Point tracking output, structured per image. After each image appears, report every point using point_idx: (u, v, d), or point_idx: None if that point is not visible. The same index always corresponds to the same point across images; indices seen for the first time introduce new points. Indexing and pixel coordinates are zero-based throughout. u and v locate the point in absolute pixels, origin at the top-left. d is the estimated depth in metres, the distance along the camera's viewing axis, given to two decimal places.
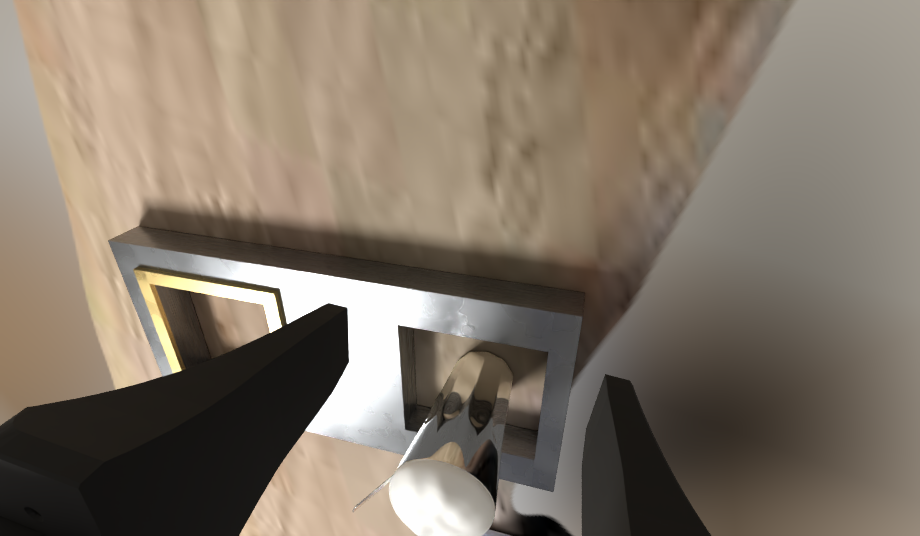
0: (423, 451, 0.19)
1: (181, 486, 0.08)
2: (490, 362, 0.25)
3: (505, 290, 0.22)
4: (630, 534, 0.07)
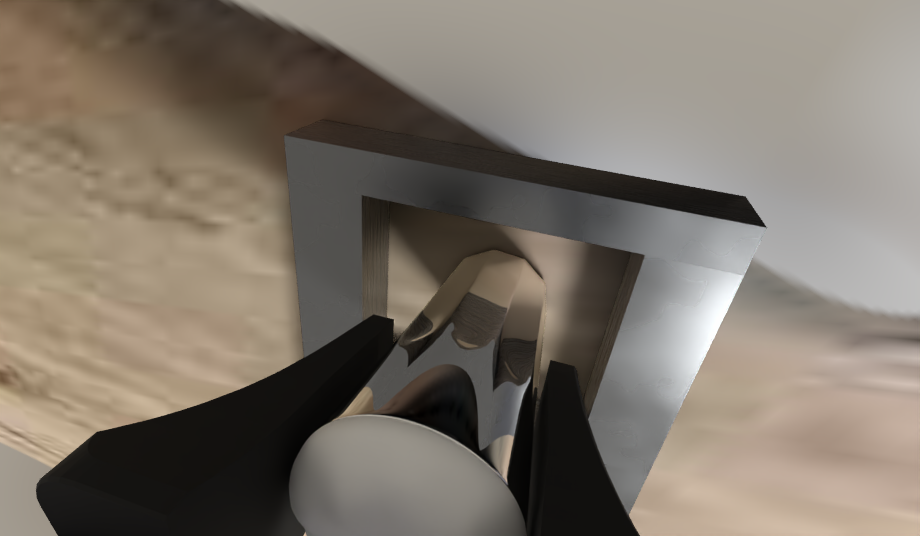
0: None
1: (250, 511, 0.08)
2: None
3: None
4: (542, 506, 0.08)
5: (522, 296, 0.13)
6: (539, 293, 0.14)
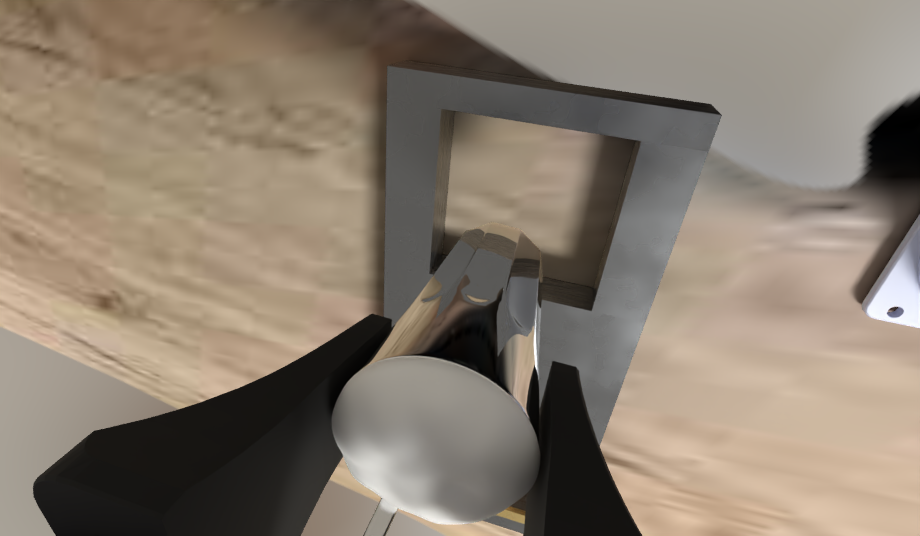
0: None
1: (247, 510, 0.08)
2: None
3: None
4: (545, 507, 0.08)
5: (521, 260, 0.14)
6: (535, 258, 0.15)
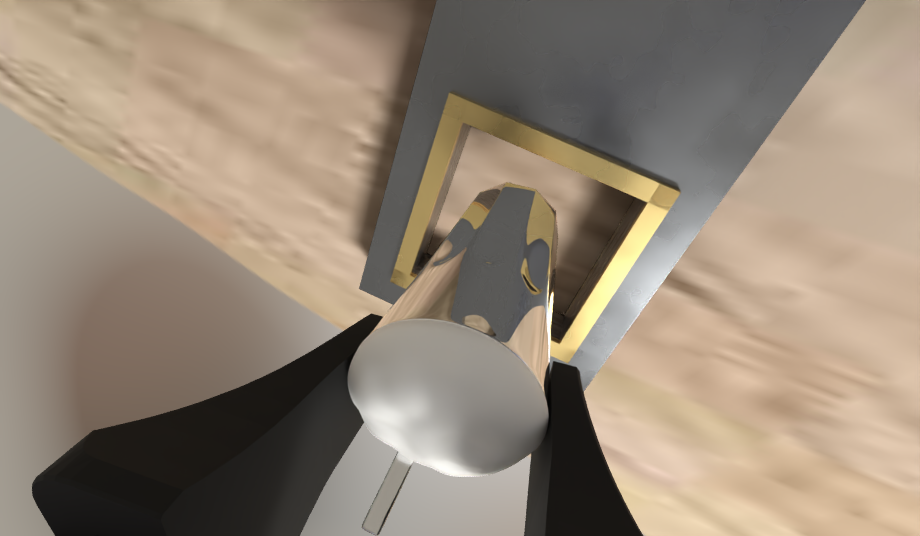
0: None
1: (246, 509, 0.08)
2: None
3: None
4: (547, 508, 0.08)
5: (535, 221, 0.14)
6: (550, 218, 0.15)
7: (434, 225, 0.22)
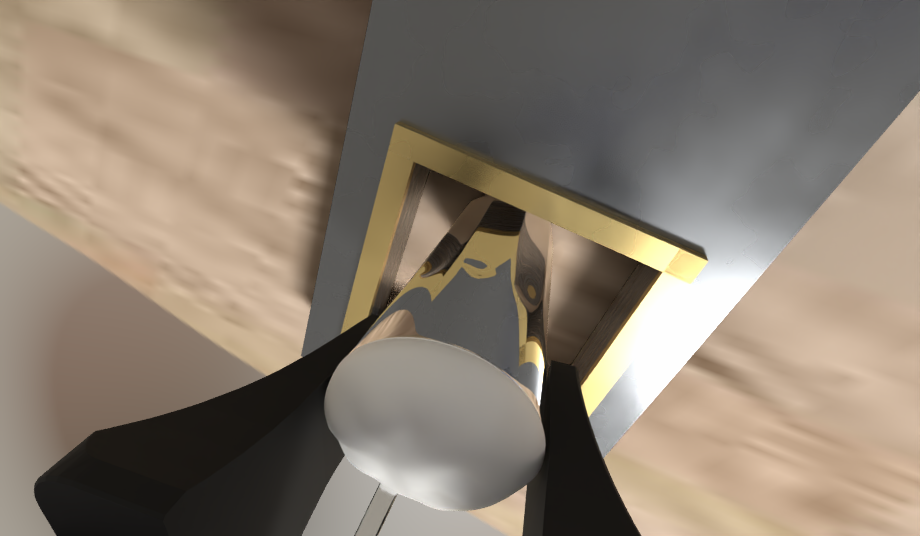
0: None
1: (248, 510, 0.08)
2: None
3: None
4: (544, 507, 0.08)
5: (529, 231, 0.13)
6: (545, 229, 0.14)
7: (392, 280, 0.18)
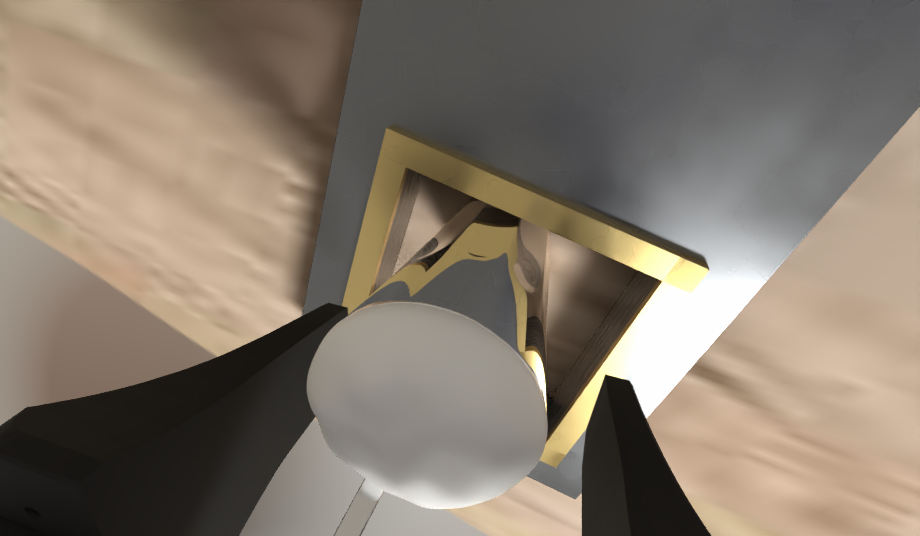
0: None
1: (181, 486, 0.08)
2: None
3: None
4: (630, 534, 0.07)
5: (527, 227, 0.13)
6: (543, 229, 0.14)
7: None
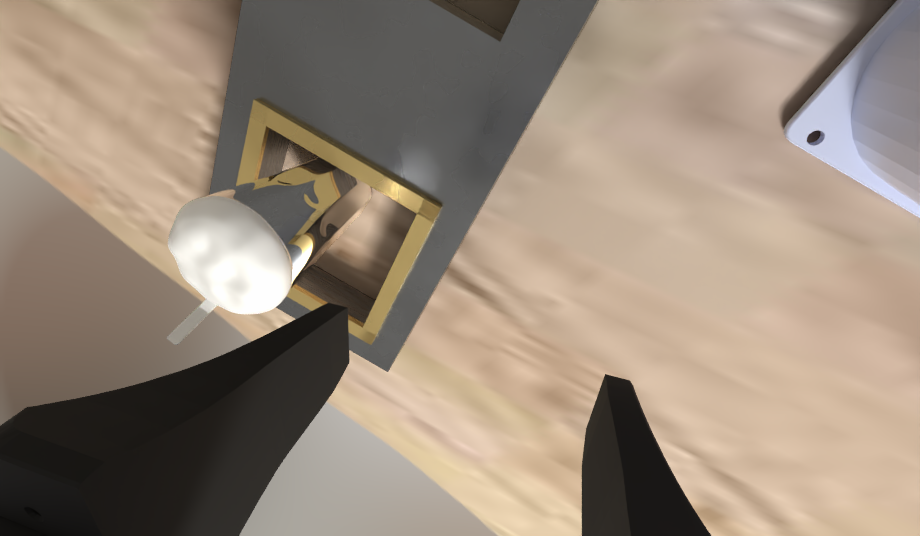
0: None
1: (181, 486, 0.08)
2: None
3: None
4: (630, 534, 0.07)
5: (340, 174, 0.21)
6: None
7: None
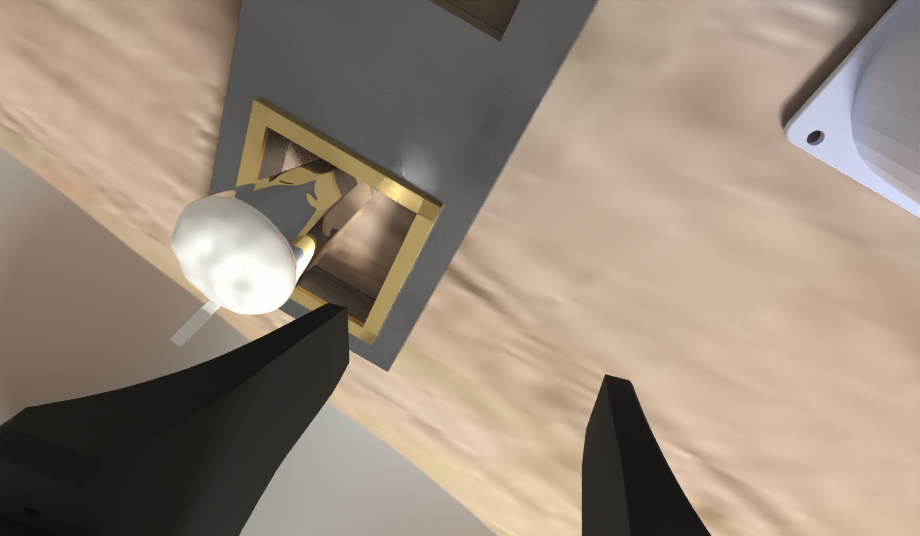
0: None
1: (181, 486, 0.08)
2: None
3: None
4: (630, 534, 0.07)
5: (341, 174, 0.21)
6: None
7: None
